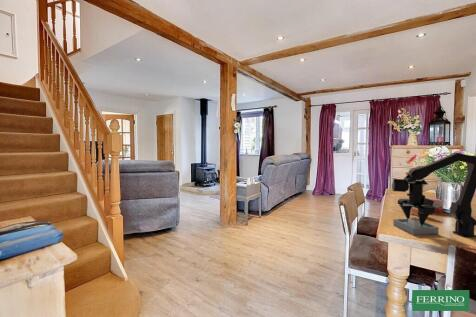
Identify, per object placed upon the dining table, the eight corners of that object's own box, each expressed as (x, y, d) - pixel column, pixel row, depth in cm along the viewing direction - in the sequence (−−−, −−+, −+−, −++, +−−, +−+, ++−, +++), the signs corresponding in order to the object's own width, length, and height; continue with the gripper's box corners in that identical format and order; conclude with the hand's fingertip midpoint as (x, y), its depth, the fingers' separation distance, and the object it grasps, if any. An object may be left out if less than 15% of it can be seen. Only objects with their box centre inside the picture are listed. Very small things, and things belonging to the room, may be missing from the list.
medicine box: (439, 210, 158) (439, 198, 157) (442, 214, 150) (443, 201, 150) (411, 208, 165) (411, 196, 164) (413, 211, 158) (413, 199, 157)
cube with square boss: (421, 229, 124) (421, 219, 123) (413, 230, 123) (414, 219, 123) (415, 227, 127) (415, 216, 127) (408, 227, 127) (408, 217, 127)
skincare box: (410, 213, 152) (410, 195, 151) (414, 213, 153) (415, 194, 152) (420, 216, 146) (420, 197, 145) (424, 215, 148) (425, 196, 147)
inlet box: (438, 234, 119) (438, 227, 118) (412, 235, 118) (413, 228, 118) (416, 224, 133) (416, 218, 132) (393, 225, 132) (393, 219, 132)
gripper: (447, 196, 115) (445, 227, 116) (416, 188, 134) (415, 215, 135) (424, 196, 115) (423, 228, 116) (397, 189, 133) (396, 216, 134)
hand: (414, 221), depth 125 cm, fingers open, 9 cm apart
